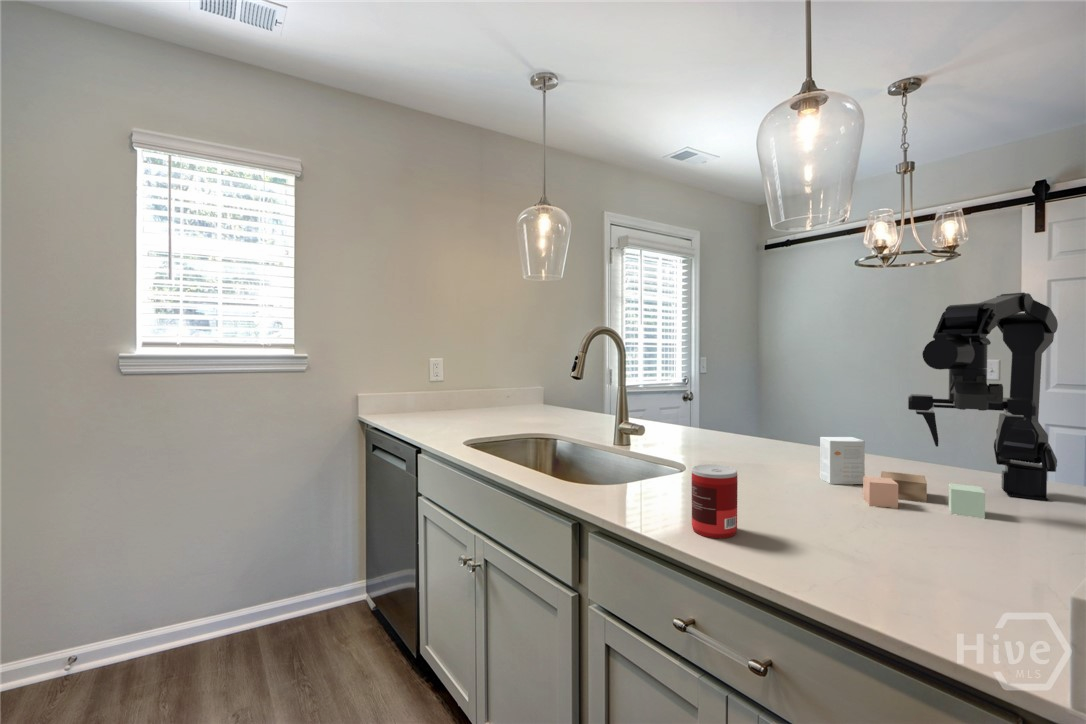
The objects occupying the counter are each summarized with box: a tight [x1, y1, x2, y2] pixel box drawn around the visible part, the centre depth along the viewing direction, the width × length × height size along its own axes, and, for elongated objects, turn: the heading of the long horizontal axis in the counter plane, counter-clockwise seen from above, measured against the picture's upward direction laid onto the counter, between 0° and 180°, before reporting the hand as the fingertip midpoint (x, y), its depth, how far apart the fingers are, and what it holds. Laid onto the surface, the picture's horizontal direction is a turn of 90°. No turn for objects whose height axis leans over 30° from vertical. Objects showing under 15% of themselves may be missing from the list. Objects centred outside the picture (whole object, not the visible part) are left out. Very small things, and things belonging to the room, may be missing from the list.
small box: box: [819, 436, 866, 485], centre depth 124 cm, size 8×6×10 cm
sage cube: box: [948, 483, 986, 519], centre depth 100 cm, size 5×5×5 cm
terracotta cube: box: [862, 476, 899, 509], centre depth 106 cm, size 5×5×5 cm
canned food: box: [691, 464, 739, 539], centre depth 91 cm, size 8×8×11 cm
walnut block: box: [880, 470, 928, 503], centre depth 112 cm, size 8×8×4 cm
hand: (966, 448), depth 100 cm, fingers open, 9 cm apart
